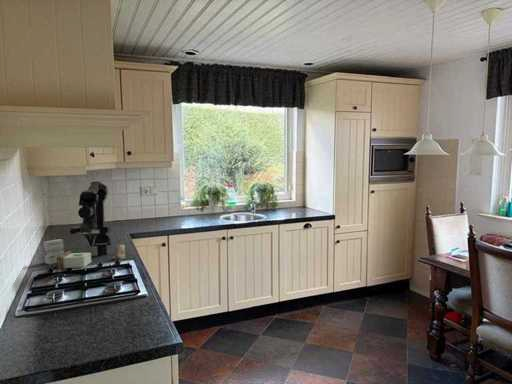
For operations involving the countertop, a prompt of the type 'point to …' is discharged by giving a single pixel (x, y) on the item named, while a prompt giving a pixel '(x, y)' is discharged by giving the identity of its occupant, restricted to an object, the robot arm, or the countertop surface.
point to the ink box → (53, 250)
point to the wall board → (60, 259)
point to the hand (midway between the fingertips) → (91, 246)
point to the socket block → (76, 260)
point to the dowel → (121, 251)
